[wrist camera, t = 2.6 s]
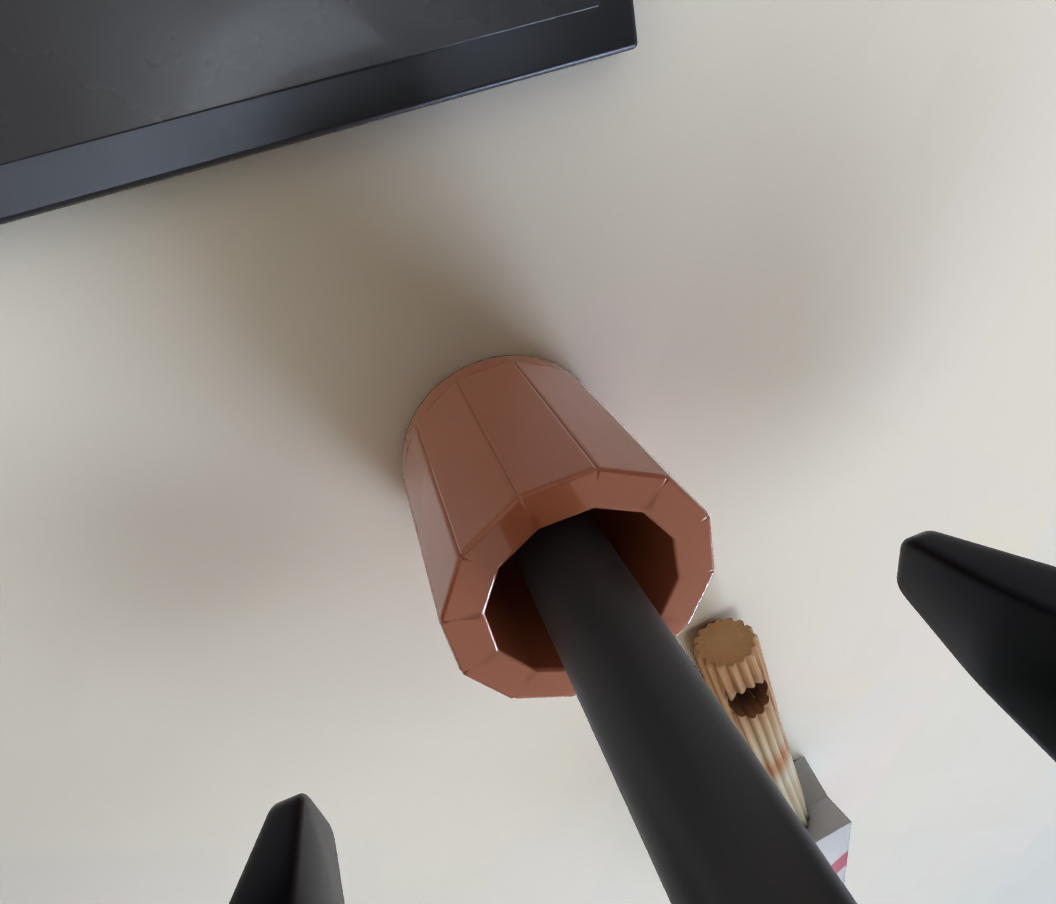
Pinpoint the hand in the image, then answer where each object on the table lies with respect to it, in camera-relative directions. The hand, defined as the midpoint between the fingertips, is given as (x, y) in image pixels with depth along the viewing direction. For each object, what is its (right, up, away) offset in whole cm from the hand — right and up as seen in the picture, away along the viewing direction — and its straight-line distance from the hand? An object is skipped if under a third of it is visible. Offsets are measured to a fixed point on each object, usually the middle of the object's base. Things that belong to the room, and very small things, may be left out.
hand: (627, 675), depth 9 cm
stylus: (-2, +3, +5) cm, 6 cm away
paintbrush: (+8, -9, +16) cm, 20 cm away
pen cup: (-2, +3, +6) cm, 7 cm away
